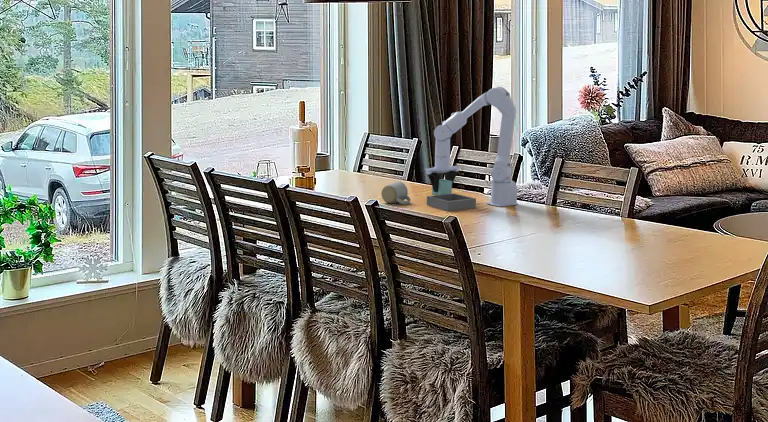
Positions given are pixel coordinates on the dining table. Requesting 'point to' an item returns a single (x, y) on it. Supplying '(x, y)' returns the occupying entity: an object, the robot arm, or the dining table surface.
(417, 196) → the dining table surface
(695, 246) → the dining table surface
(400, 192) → the ceramic mug
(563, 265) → the dining table surface
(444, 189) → the small crate
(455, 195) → the big crate
